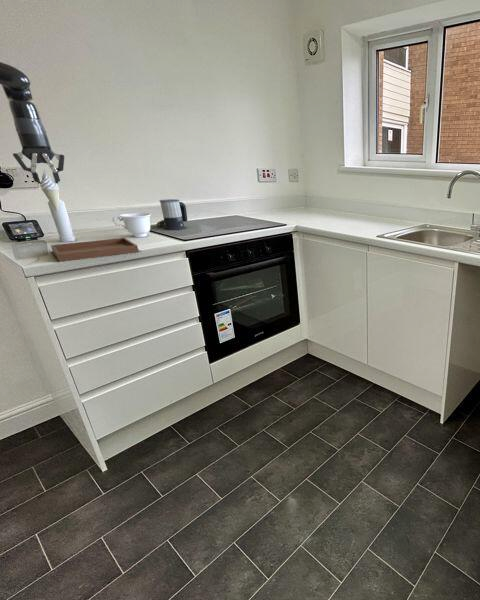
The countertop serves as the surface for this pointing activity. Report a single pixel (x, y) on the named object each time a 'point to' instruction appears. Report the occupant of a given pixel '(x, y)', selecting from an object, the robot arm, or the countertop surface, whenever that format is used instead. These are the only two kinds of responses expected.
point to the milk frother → (173, 214)
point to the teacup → (135, 223)
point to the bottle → (62, 222)
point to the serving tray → (93, 249)
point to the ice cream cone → (50, 189)
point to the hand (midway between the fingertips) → (48, 183)
